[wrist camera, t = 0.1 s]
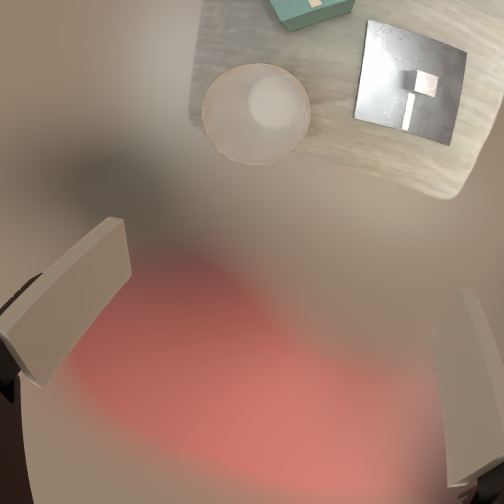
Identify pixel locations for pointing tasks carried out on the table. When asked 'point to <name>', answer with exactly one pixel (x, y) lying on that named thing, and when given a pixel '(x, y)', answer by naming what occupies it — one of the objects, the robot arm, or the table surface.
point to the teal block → (309, 11)
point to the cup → (256, 113)
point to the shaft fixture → (409, 82)
